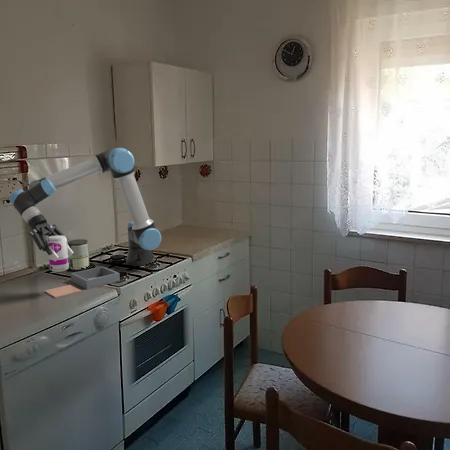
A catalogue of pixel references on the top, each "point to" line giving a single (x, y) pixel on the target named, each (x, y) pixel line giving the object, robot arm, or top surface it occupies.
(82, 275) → the parts tub
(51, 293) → the terracotta tile
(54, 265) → the supplement can
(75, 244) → the coffee can
